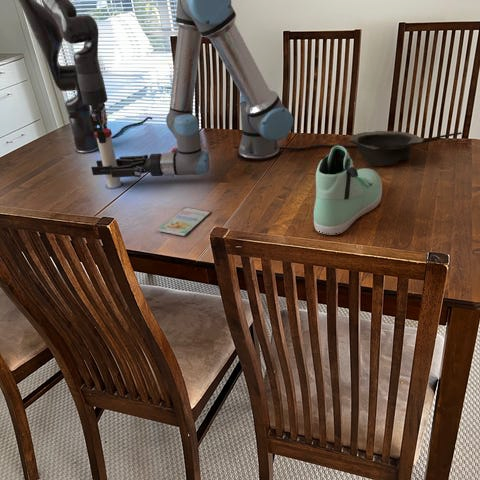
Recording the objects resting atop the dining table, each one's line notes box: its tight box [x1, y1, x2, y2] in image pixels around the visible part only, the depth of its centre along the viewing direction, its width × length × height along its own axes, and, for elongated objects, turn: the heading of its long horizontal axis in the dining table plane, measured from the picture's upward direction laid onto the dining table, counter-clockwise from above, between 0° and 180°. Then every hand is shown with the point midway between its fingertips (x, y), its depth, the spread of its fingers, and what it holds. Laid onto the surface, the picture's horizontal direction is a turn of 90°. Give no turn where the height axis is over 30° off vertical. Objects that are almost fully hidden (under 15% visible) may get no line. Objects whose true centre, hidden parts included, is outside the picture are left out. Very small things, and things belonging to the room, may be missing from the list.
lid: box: [94, 128, 113, 138], centre depth 155 cm, size 5×5×2 cm
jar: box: [97, 135, 122, 189], centre depth 160 cm, size 5×5×18 cm
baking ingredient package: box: [157, 207, 211, 237], centre depth 139 cm, size 9×1×15 cm
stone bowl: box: [348, 130, 426, 167], centre depth 167 cm, size 25×25×9 cm
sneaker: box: [313, 146, 383, 236], centre depth 133 cm, size 14×35×20 cm, turn 152°
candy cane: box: [170, 146, 179, 153], centre depth 183 cm, size 6×15×2 cm, turn 145°
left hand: (104, 139), depth 156 cm, fingers closed on lid, 5 cm apart
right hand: (95, 167), depth 162 cm, fingers closed on jar, 5 cm apart
